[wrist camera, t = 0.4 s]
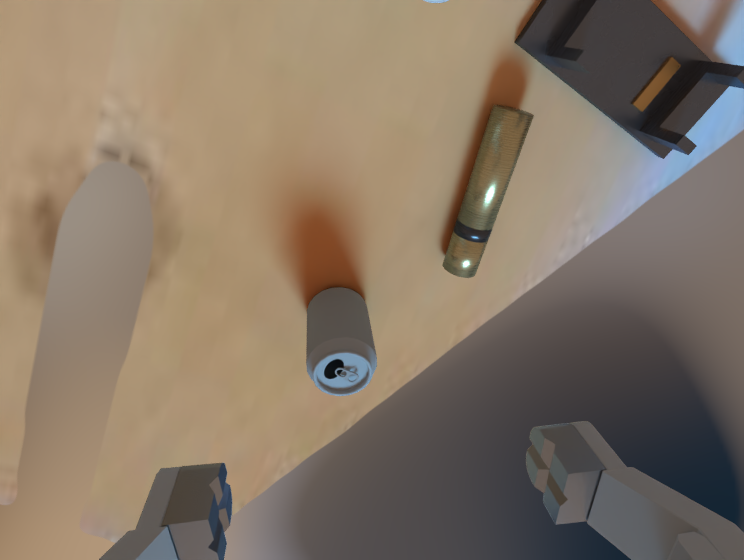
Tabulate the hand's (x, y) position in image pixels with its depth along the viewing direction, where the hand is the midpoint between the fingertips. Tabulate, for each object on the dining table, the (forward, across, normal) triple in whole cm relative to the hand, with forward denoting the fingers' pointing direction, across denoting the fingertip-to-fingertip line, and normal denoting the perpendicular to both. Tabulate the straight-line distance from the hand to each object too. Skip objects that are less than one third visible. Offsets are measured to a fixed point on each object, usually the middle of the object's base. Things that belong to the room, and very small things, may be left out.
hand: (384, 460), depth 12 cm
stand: (+36, -30, -10) cm, 48 cm away
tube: (+38, -17, +3) cm, 42 cm away
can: (+40, 0, +18) cm, 44 cm away
